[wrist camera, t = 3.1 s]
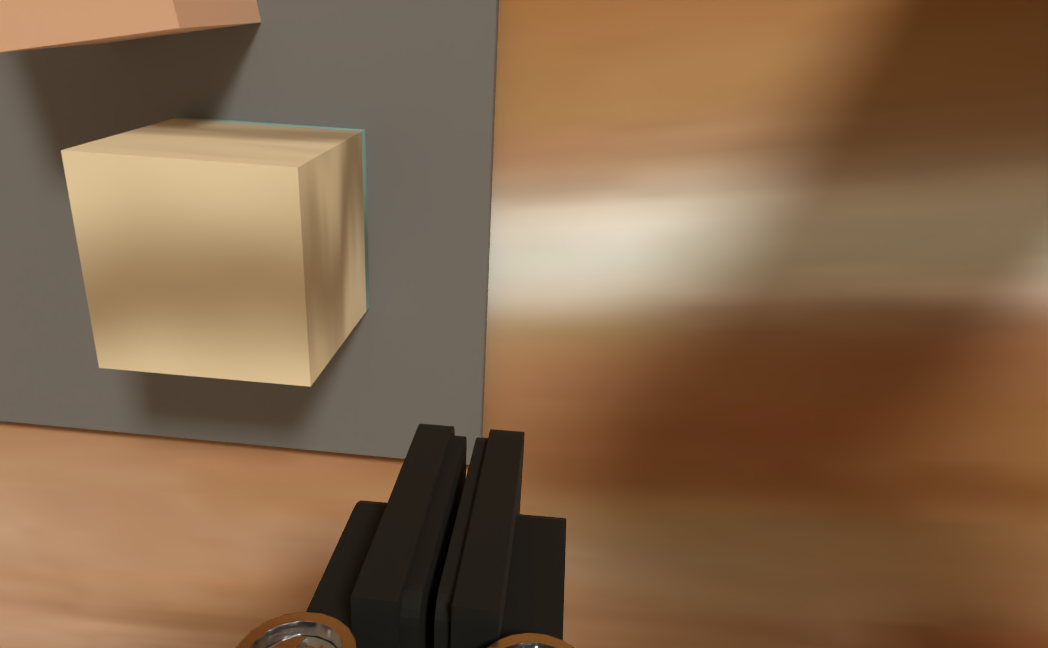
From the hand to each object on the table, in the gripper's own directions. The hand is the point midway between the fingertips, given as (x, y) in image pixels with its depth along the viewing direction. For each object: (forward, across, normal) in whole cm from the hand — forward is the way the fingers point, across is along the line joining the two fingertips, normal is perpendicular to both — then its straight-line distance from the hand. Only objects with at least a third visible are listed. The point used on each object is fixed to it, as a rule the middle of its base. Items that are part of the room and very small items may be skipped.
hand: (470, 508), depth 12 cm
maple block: (+14, +8, -1) cm, 17 cm away
